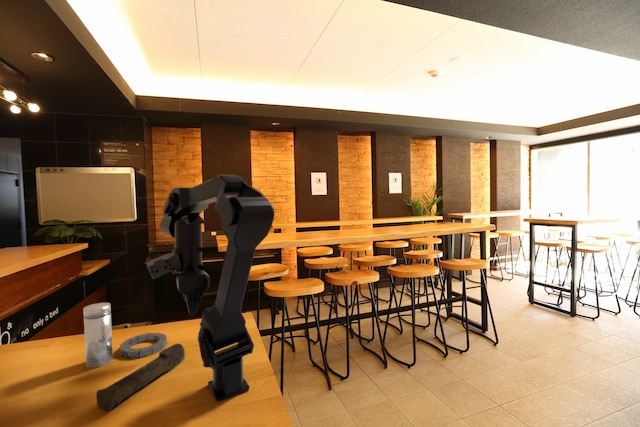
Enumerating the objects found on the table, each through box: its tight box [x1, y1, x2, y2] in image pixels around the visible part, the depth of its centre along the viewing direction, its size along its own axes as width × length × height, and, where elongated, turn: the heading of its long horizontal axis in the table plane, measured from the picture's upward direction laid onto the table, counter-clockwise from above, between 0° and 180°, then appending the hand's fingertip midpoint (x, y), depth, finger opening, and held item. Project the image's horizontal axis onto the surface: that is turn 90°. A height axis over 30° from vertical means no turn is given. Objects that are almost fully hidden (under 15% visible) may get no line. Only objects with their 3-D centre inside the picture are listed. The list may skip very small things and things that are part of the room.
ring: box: [119, 332, 168, 359], centre depth 77 cm, size 10×10×2 cm
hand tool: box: [95, 343, 186, 412], centre depth 63 cm, size 19×4×5 cm, turn 157°
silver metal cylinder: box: [82, 302, 114, 369], centre depth 70 cm, size 5×5×13 cm
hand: (189, 307), depth 73 cm, fingers open, 9 cm apart
